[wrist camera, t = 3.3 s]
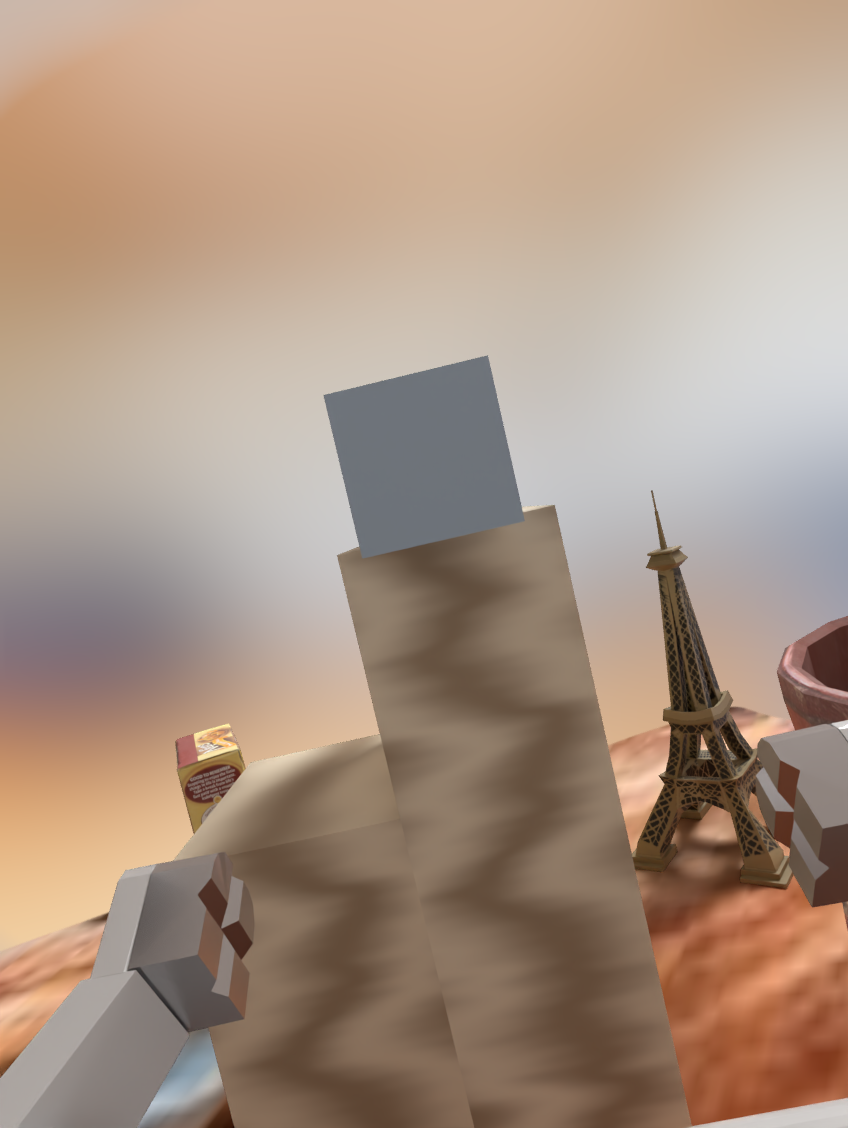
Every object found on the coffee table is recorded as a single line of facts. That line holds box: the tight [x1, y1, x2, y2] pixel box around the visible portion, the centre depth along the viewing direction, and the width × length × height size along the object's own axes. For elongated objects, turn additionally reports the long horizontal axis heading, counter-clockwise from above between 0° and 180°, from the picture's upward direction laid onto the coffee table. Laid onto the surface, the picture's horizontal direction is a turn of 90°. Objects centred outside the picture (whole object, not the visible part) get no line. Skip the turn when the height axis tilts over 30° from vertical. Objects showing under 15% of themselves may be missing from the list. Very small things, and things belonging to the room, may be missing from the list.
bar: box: [324, 356, 525, 559], centre depth 31 cm, size 4×26×4 cm, turn 178°
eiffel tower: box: [632, 491, 794, 888], centre depth 52 cm, size 11×11×25 cm
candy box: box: [175, 724, 246, 834], centre depth 51 cm, size 9×4×15 cm, turn 20°
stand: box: [173, 505, 692, 1128], centre depth 34 cm, size 17×12×26 cm
